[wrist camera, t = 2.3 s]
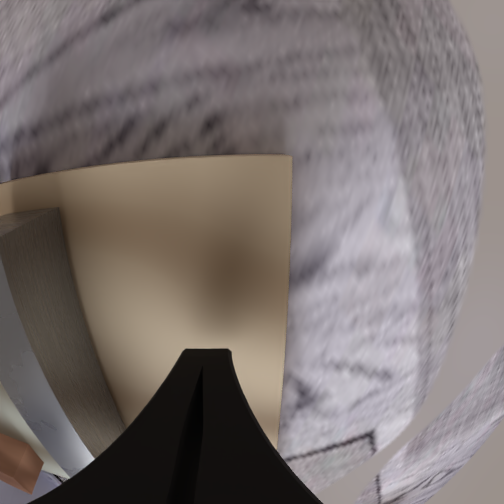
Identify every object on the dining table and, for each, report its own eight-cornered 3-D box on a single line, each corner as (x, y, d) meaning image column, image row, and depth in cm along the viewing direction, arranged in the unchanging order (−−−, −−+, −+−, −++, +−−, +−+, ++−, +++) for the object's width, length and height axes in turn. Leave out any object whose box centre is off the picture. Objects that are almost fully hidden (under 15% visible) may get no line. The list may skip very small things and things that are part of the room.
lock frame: (269, 485, 16) (275, 538, 12) (0, 441, 15) (-17, 475, 11) (285, 154, 9) (327, 165, 5) (-102, 214, 8) (-146, 237, 4)
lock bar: (158, 476, 13) (152, 519, 10) (106, 468, 13) (96, 508, 10) (69, 205, 8) (7, 238, 5) (-1, 214, 7) (-60, 244, 5)
